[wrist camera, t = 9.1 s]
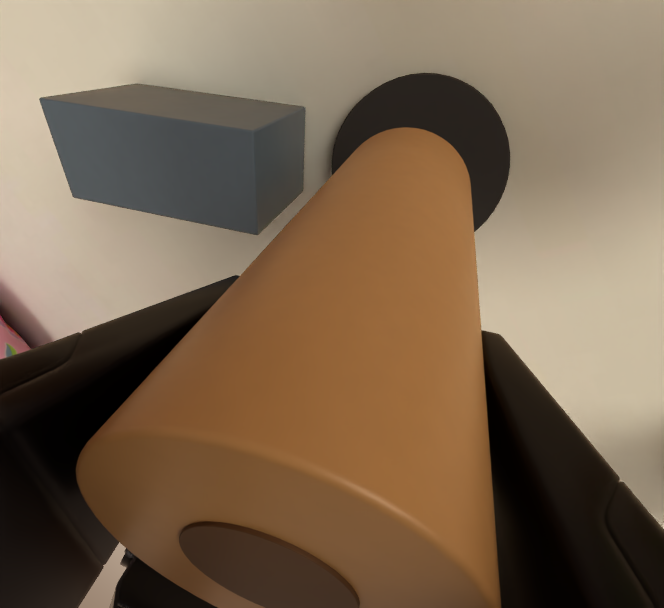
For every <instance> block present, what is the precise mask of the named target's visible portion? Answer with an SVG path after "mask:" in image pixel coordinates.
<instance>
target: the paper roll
mask: <svg viewBox="0 0 664 608" xmlns="http://www.w3.org/2000/svg"><path fill="white" fill-rule="evenodd" d="M76 478H77V483H78V486H79V489H80V492H81V494H82V496H83V498H84V499H85V501H86V503H87V505H88V506H89V508H90V509H91V510H92V512H93V513H94V514H95V516H96V517H97V519H98V520H99V521H100V522H101V523H102V524H103V526H104V527H105V528H106V529H107V530H108V531H109V532H110V533H111V534H112V535H113V536H114V537H115V538H116V539H117V540H118V541H119V542H120V543H121V544H122V545H123V546H125V547H126V548H127V549H128V550H129V551H130V552H132V553H133V554H134V555H135V556H137V557H138V558H139V559H140V560H142V561H143V562H144V563H146V564H147V565H148V566H150V567H151V568H153V569H154V570H155V571H157V572H158V573H160V574H161V575H163V576H164V577H166V578H167V579H169V580H170V581H172V582H174V583H175V584H177V585H178V586H180V587H182V588H183V589H185V590H187V591H188V592H190V593H192V594H194V595H195V596H197V597H199V598H201V599H203V600H204V601H206V602H208V603H210V604H212V605H214V606H216V607H218V608H501V598H500V584H499V570H498V556H497V542H496V528H495V514H494V501H493V487H492V473H491V459H490V445H489V431H488V418H487V404H486V390H485V376H484V362H483V348H482V335H481V321H480V307H479V293H478V279H477V265H476V251H475V238H474V224H473V210H472V196H471V183H470V178H469V173H468V170H467V168H466V165H465V163H464V161H463V159H462V158H461V156H460V155H459V153H458V152H457V151H456V150H455V149H454V147H453V146H452V145H451V144H450V143H448V142H447V141H446V140H444V139H443V138H441V137H440V136H438V135H436V134H434V133H432V132H429V131H426V130H423V129H418V128H408V127H404V128H394V129H390V130H386V131H383V132H381V133H378V134H376V135H374V136H372V137H370V138H369V139H368V140H366V141H365V142H363V143H362V144H361V145H360V146H359V147H358V148H357V149H356V150H355V151H354V152H353V153H352V154H351V156H350V157H349V158H348V159H347V160H346V161H345V162H344V163H343V164H342V165H341V166H340V168H339V169H338V170H337V171H336V172H335V173H334V174H333V175H332V176H331V177H330V178H329V180H328V181H327V182H326V183H325V184H324V185H323V186H322V187H321V188H320V189H319V190H318V192H317V193H316V194H315V195H314V196H313V197H312V198H311V199H310V200H309V201H308V202H307V203H306V205H305V206H304V207H303V208H302V209H301V210H300V211H299V212H298V213H297V214H296V215H295V217H294V218H293V219H292V220H291V221H290V222H289V223H288V224H287V225H286V226H285V227H284V229H283V230H282V231H281V232H280V233H279V234H278V235H277V236H276V237H275V238H274V239H273V241H272V242H271V243H270V244H269V245H268V246H267V247H266V248H265V249H264V250H263V251H262V253H261V254H260V255H259V256H258V257H257V258H256V259H255V260H254V261H253V262H252V263H251V265H250V266H249V267H248V268H247V269H246V270H245V271H244V272H243V273H242V274H241V275H240V276H239V278H238V279H237V280H236V281H235V282H234V283H233V284H232V285H231V286H230V287H229V288H228V290H227V291H226V292H225V293H224V294H223V295H222V296H221V297H220V298H219V299H218V300H217V302H216V303H215V304H214V305H213V306H212V307H211V308H210V309H209V310H208V311H207V312H206V314H205V315H204V316H203V317H202V318H201V319H200V320H199V321H198V322H197V323H196V324H195V326H194V327H193V328H192V329H191V330H190V331H189V332H188V333H187V334H186V335H185V336H184V337H183V339H182V340H181V341H180V342H179V343H178V344H177V345H176V346H175V347H174V348H173V349H172V351H171V352H170V353H169V354H168V355H167V356H166V357H165V358H164V359H163V360H162V361H161V363H160V364H159V365H158V366H157V367H156V368H155V369H154V370H153V371H152V372H151V373H150V375H149V376H148V377H147V378H146V379H145V380H144V381H143V382H142V383H141V384H140V385H139V387H138V388H137V389H136V390H135V391H134V392H133V393H132V394H131V395H130V396H129V397H128V399H127V400H126V401H125V402H124V403H123V404H122V405H121V406H120V407H119V408H118V409H117V410H116V412H115V413H114V414H113V415H112V416H111V417H110V418H109V419H108V420H107V421H106V422H105V424H104V425H103V426H102V427H101V428H100V429H99V430H98V431H97V432H96V433H95V434H94V436H93V437H92V438H91V439H90V440H89V441H88V442H87V443H86V445H85V446H84V448H83V450H82V451H81V453H80V455H79V458H78V461H77V466H76Z"/></svg>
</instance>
